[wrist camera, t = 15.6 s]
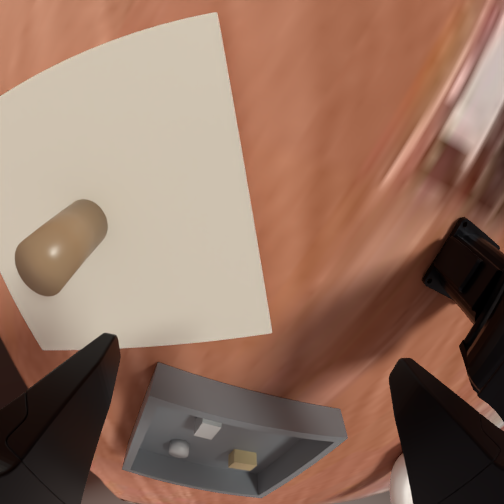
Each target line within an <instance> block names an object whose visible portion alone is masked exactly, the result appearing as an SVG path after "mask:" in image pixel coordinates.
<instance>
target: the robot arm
mask: <svg viewBox="0 0 504 504" xmlns="http://www.w3.org/2000/svg"><path fill="white" fill-rule="evenodd" d="M464 222H465V223H464ZM463 223H464V225H463ZM429 278H430V279H429ZM428 279H429V280H428ZM427 280H428V281H427ZM422 281H423V283H424V284H425V285H426V286H427V287H429V288H431V289H433V290H435V291H437V292H439V293H441V294H443V295H445V296H447V297H449V298H451V299H452V300H454V301H455V302H456V304H457V305H458V306H459V307H460V308H461V310H462V311H463V312H464V313H465V314H466V316H467V317H468V318H469V319H470V321H471V322H472V323H473V324H474V325H473V327H472V328H471V330H470V331H469V333H468V335H467V336H466V338H465V339H464V340H463V341H462V342H461V344H460V345H459V348H460V351H461V354H462V357H463V360H464V363H465V366H466V370H467V375H468V377H469V380H470V383H471V385H472V387H473V390H474V391H476V392H477V395H478V397H479V398H481V399H482V400H484V401H485V402H486V403H488V404H489V405H490V406H491V407H492V408H493V409H494V410H495V411H496V412H497V413H498V415H499V416H500V417H501V419H502V420H503V421H504V254H503V253H502V252H501V251H500V247H499V246H498V245H497V244H496V243H495V242H494V241H493V240H492V239H491V238H489V237H488V236H487V235H486V234H485V233H484V232H482V231H481V230H480V229H479V228H478V227H477V226H475V225H474V224H473V223H472V222H471V221H469V220H468V219H467V218H465V217H462V218H460V220H459V221H458V223H457V225H456V226H455V228H454V230H453V231H452V233H451V235H450V236H449V238H448V240H447V241H446V243H445V244H444V246H443V248H442V249H441V251H440V252H439V254H438V256H437V257H436V259H435V260H434V262H433V263H432V265H431V266H430V268H429V269H428V271H427V272H426V274H425V275H424V277H423V280H422ZM119 363H120V348H119V342H118V337H117V335H115V334H110V333H103V334H101V335H100V336H99V337H97V338H96V339H94V340H93V341H92V342H90V343H89V344H88V345H86V346H85V347H84V348H82V349H81V350H80V351H78V352H77V353H76V354H74V355H73V356H72V357H70V358H69V359H68V360H66V361H65V362H64V363H62V364H61V365H60V366H58V367H57V368H56V369H54V370H53V371H52V372H50V373H49V374H48V375H46V376H45V377H44V378H42V379H41V380H40V381H38V382H37V383H36V384H34V385H33V386H32V387H30V388H29V389H28V390H27V391H26V393H25V392H24V393H22V394H21V395H20V396H19V397H17V398H16V399H15V400H13V401H12V402H10V403H9V404H8V405H6V406H5V407H3V408H2V409H0V504H81V500H82V496H83V492H84V488H85V485H86V481H87V478H88V474H89V470H90V467H91V464H92V460H93V457H94V453H95V450H96V447H97V444H98V440H99V437H100V434H101V431H102V428H103V425H104V422H105V419H106V416H107V413H108V410H109V406H110V403H111V399H112V394H113V390H114V385H115V381H116V376H117V372H118V367H119ZM389 385H390V391H391V397H392V403H393V410H394V416H395V421H396V426H397V430H398V434H399V438H400V442H401V447H402V451H403V455H404V460H405V465H406V469H407V474H408V479H409V484H410V490H411V495H412V501H413V504H504V431H502V430H501V429H499V428H498V427H497V426H495V425H494V424H493V423H491V422H490V421H489V420H488V419H486V418H485V417H484V416H483V415H481V414H479V412H478V411H476V410H475V409H474V408H473V407H472V406H470V405H469V404H468V403H467V402H465V401H464V400H463V399H462V398H460V397H459V396H458V395H457V394H455V393H454V392H453V391H452V390H450V389H449V388H448V387H447V386H445V385H444V384H443V383H442V382H440V381H439V380H438V379H437V378H435V377H434V376H433V375H432V374H430V373H429V372H428V371H427V370H425V369H424V368H423V367H421V366H420V365H419V364H418V363H416V362H415V361H414V360H413V359H411V358H401V359H399V360H398V362H397V363H396V365H395V367H394V368H393V370H392V372H391V373H390V376H389Z"/></svg>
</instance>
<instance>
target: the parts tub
mask: <svg viewBox="0 0 504 504" xmlns="http://www.w3.org/2000/svg"><path fill="white" fill-rule="evenodd" d="M347 438H348V437H347V433H346V429H345V425H344V421H343V418H342V414H341V410H340V409H337V408H331V407H325V406H320V405H314V404H309V403H304V402H299V401H294V400H289V399H285V398H280V397H276V396H272V395H267V394H263V393H259V392H255V391H251V390H247V389H243V388H240V387H236V386H232V385H229V384H225V383H222V382H218V381H215V380H211V379H208V378H205V377H202V376H198V375H195V374H192V373H189V372H186V371H183V370H180V369H177V368H174V367H171V366H168V365H165V364H162V363H159V362H158V363H157V366H156V368H155V371H154V374H153V376H152V379H151V382H150V384H149V387H148V390H147V392H146V395H145V398H144V400H143V403H142V406H141V409H140V412H139V414H138V417H137V420H136V423H135V426H134V428H133V431H132V434H131V437H130V440H129V443H128V446H127V450H126V454H125V458H124V463H123V467H122V470H125V471H129V472H132V473H135V474H138V475H142V476H145V477H149V478H152V479H156V480H160V481H164V482H168V483H172V484H176V485H180V486H185V487H190V488H195V489H200V490H205V491H211V492H217V493H223V494H230V495H238V496H246V497H256V498H262V497H264V496H266V495H268V494H269V493H271V492H272V491H274V490H276V489H277V488H279V487H281V486H282V485H284V484H285V483H287V482H288V481H290V480H291V479H293V478H294V477H296V476H297V475H299V474H300V473H302V472H303V471H305V470H306V469H308V468H309V467H310V466H312V465H313V464H315V463H316V462H317V461H319V460H320V459H321V458H323V457H324V456H325V455H327V454H328V453H329V452H331V451H332V450H333V449H335V448H336V447H337V446H339V445H340V444H341V443H342V442H344V441H345V440H346V439H347Z"/></svg>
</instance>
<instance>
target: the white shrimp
mask: <svg viewBox="0 0 504 504" xmlns="http://www.w3.org/2000/svg"><path fill="white" fill-rule="evenodd" d="M390 500H391V504H413V501H412V495H411V490H410V484H409V479H408V474H407V469H406V465H405V460H404V455H403V453H402V454H401V455H400V456H399V457H398V459H397V460H396V462H395V464H394V466H393V468H392V473H391V479H390Z"/></svg>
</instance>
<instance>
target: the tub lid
mask: <svg viewBox="0 0 504 504" xmlns="http://www.w3.org/2000/svg"><path fill="white" fill-rule="evenodd" d="M0 272H1V275H2V277H3V279H4V281H5V283H6V285H7V287H8V289H9V291H10V293H11V295H12V297H13V299H14V301H15V303H16V305H17V307H18V309H19V311H20V313H21V314H22V316H23V318H24V320H25V322H26V323H27V325H28V327H29V329H30V330H31V332H32V334H33V335H34V337H35V339H36V340H37V342H38V344H39V345H40V347H41V348H42V350H81V349H82V348H84V347H85V346H86V345H88V344H89V343H90V342H92V341H93V340H94V339H96V338H97V337H99V336H100V335H101V334H103V333H110V334H115V335H117V337H118V342H119V348H137V347H151V346H165V345H176V344H187V343H197V342H207V341H216V340H225V339H233V338H241V337H248V336H256V335H263V334H270V333H272V327H271V320H270V314H269V308H268V302H267V296H266V290H265V284H264V278H263V272H262V266H261V260H260V254H259V248H258V242H257V236H256V230H255V224H254V218H253V212H252V206H251V200H250V194H249V189H248V183H247V177H246V171H245V165H244V160H243V154H242V148H241V142H240V136H239V131H238V125H237V119H236V113H235V108H234V102H233V96H232V91H231V85H230V79H229V74H228V68H227V63H226V57H225V51H224V46H223V40H222V35H221V29H220V24H219V18H218V14H217V12H214V13H209V14H204V15H199V16H195V17H190V18H186V19H182V20H177V21H173V22H170V23H166V24H162V25H159V26H155V27H152V28H148V29H145V30H142V31H139V32H135V33H132V34H129V35H126V36H124V37H121V38H118V39H115V40H112V41H110V42H107V43H105V44H102V45H99V46H97V47H94V48H92V49H90V50H87V51H85V52H82V53H80V54H78V55H76V56H73V57H71V58H69V59H67V60H65V61H63V62H61V63H59V64H57V65H54V66H52V67H50V68H49V69H47V70H45V71H43V72H41V73H39V74H37V75H35V76H33V77H32V78H30V79H28V80H26V81H25V82H23V83H21V84H19V85H18V86H16V87H14V88H13V89H11V90H9V91H8V92H6V93H5V94H3V95H1V96H0Z"/></svg>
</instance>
